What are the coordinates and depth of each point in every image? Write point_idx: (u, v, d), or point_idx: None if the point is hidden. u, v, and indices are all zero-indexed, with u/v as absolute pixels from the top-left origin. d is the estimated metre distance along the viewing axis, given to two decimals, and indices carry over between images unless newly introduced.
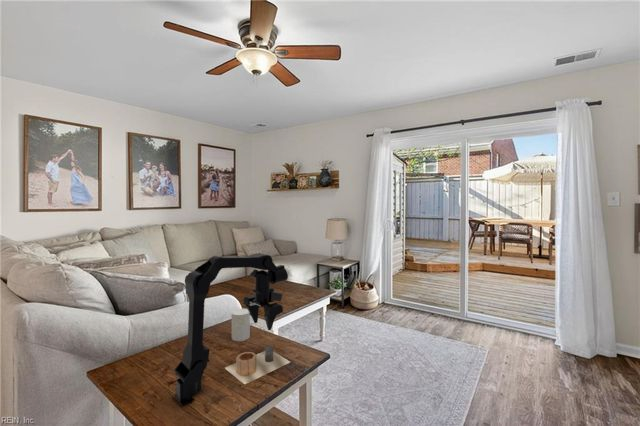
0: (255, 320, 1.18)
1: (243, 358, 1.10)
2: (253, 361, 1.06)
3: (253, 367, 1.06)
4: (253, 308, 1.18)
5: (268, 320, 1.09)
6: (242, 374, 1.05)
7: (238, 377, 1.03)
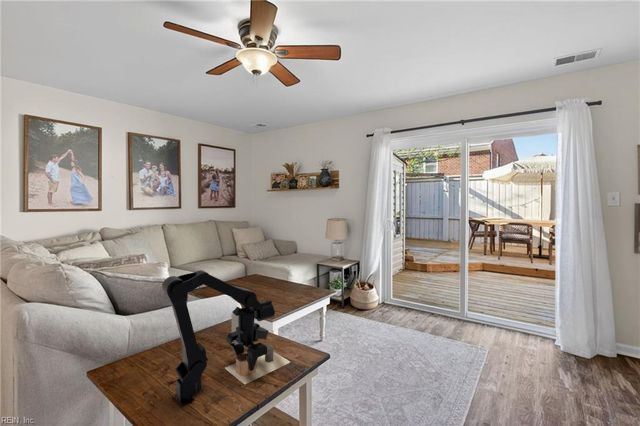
0: None
1: (243, 358, 1.10)
2: None
3: None
4: (238, 347, 1.10)
5: (250, 361, 1.03)
6: (242, 374, 1.05)
7: (238, 377, 1.03)
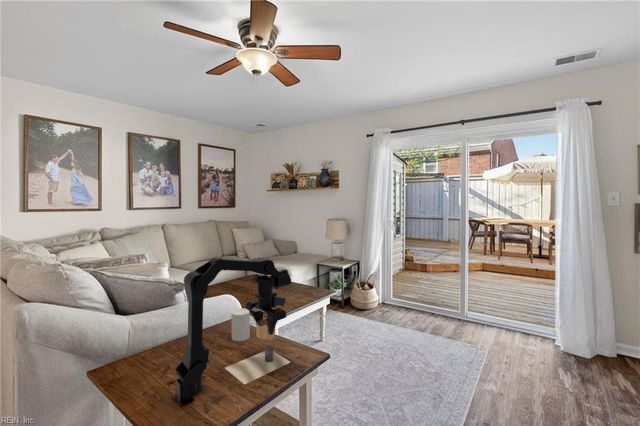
0: None
1: (263, 324, 1.15)
2: None
3: None
4: (257, 314, 1.15)
5: (270, 325, 1.09)
6: (262, 338, 1.10)
7: (238, 377, 1.03)
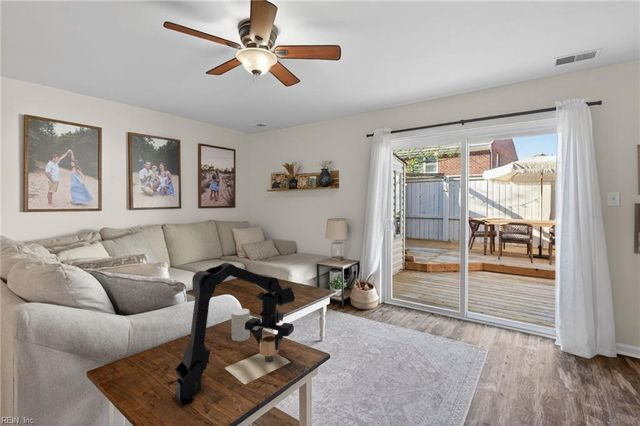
0: None
1: None
2: None
3: None
4: (258, 332, 1.15)
5: (278, 340, 1.12)
6: (270, 354, 1.12)
7: (238, 377, 1.03)
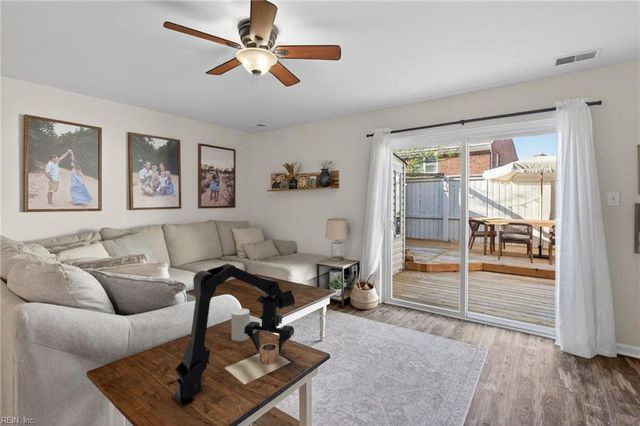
0: (258, 347, 1.16)
1: None
2: (278, 349, 1.15)
3: (278, 354, 1.15)
4: (256, 336, 1.15)
5: (282, 344, 1.12)
6: (270, 363, 1.12)
7: (238, 377, 1.03)
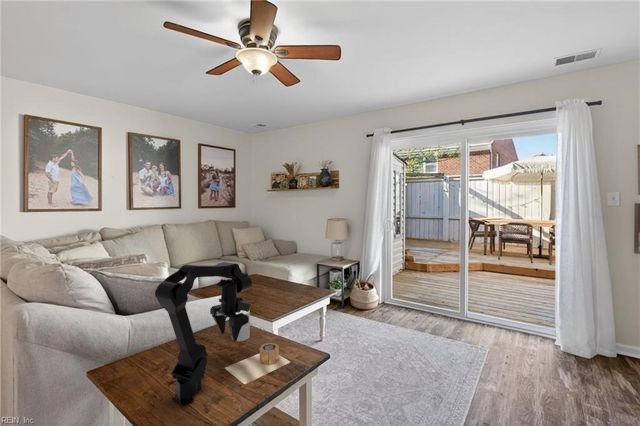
0: (222, 330, 1.15)
1: None
2: (278, 349, 1.15)
3: (278, 354, 1.15)
4: (220, 318, 1.15)
5: (233, 331, 1.06)
6: (270, 363, 1.12)
7: (238, 377, 1.03)
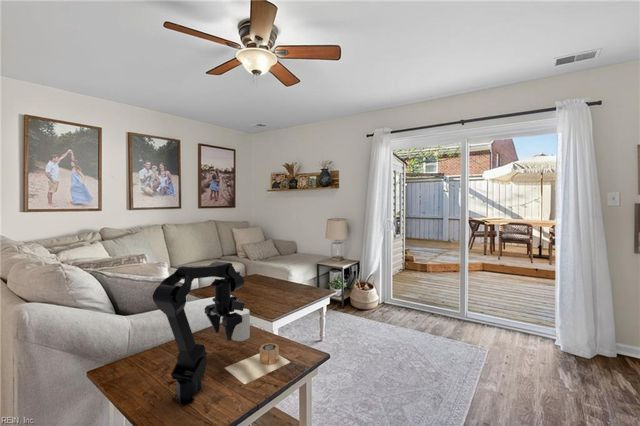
0: (216, 330, 1.15)
1: None
2: (278, 349, 1.15)
3: (278, 354, 1.15)
4: (214, 317, 1.15)
5: (226, 331, 1.06)
6: (270, 363, 1.12)
7: (238, 377, 1.03)
